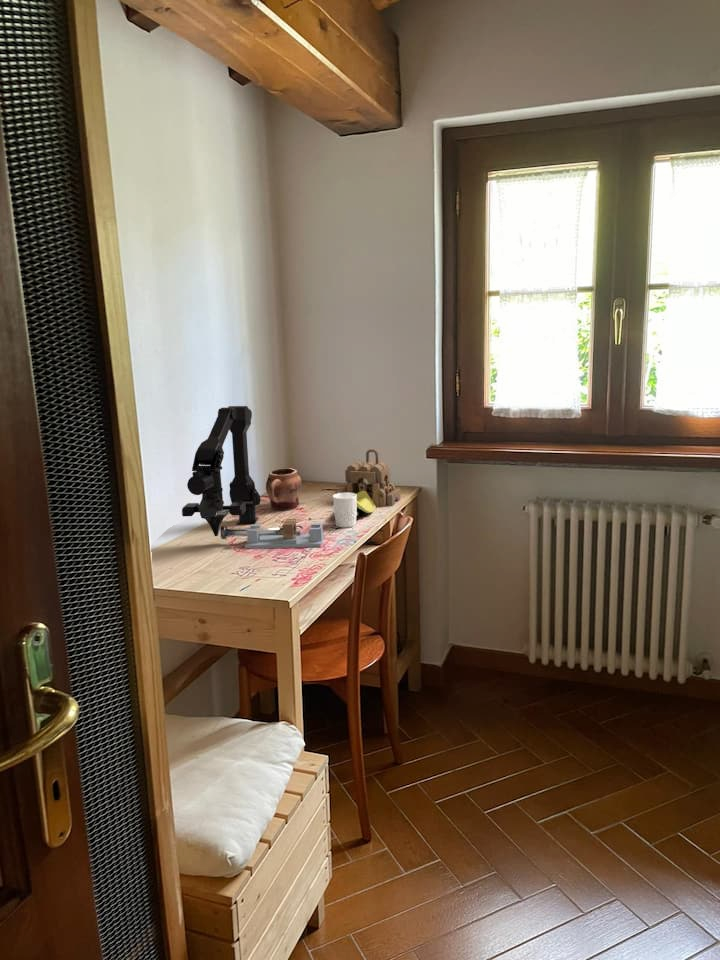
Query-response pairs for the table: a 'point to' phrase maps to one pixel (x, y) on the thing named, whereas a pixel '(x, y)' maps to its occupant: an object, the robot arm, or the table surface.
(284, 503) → the decorative planter
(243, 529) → the shaft
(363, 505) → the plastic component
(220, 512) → the robot arm
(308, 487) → the table surface
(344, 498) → the white cup
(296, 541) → the rail
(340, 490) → the tan backpack
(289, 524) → the frame
